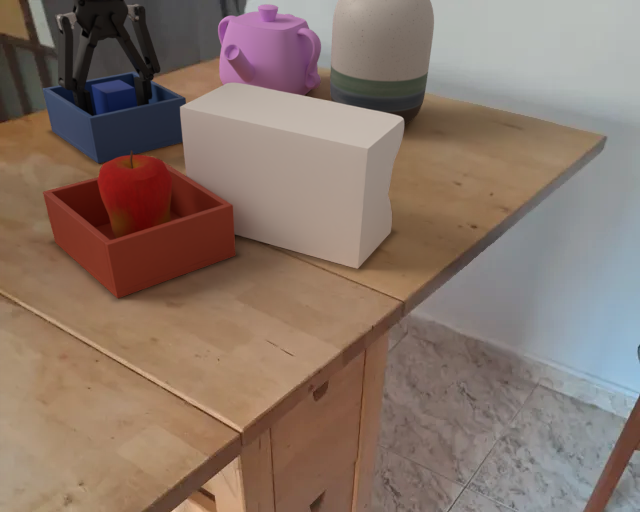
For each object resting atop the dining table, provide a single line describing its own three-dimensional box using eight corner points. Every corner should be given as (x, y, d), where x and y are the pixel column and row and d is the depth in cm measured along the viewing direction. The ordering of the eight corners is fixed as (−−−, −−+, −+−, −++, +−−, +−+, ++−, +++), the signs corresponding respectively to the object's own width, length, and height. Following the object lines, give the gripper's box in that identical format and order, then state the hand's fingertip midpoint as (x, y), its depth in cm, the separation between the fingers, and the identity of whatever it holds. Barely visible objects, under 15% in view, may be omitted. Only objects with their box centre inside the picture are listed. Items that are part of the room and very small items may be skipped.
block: (99, 129, 115) (91, 84, 110) (126, 123, 117) (119, 79, 112) (113, 138, 112) (106, 93, 107) (140, 132, 115) (134, 87, 110)
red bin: (55, 242, 88) (42, 191, 84) (167, 208, 96) (161, 160, 92) (117, 298, 79) (107, 245, 75) (235, 255, 87) (233, 204, 83)
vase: (310, 113, 126) (314, -43, 110) (383, 99, 134) (397, -50, 117) (364, 143, 116) (378, -23, 100) (440, 127, 124) (464, -31, 107)
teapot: (306, 73, 144) (308, -7, 134) (329, 106, 129) (332, 20, 119) (215, 75, 141) (210, -6, 131) (227, 110, 126) (222, 22, 116)
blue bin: (52, 131, 116) (42, 88, 111) (139, 112, 124) (134, 71, 119) (98, 163, 107) (89, 118, 102) (189, 140, 115) (185, 97, 110)
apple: (171, 223, 91) (160, 133, 83) (184, 254, 86) (174, 159, 78) (105, 232, 89) (87, 140, 81) (114, 264, 83) (96, 168, 75)
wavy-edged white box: (409, 212, 98) (423, 102, 88) (357, 269, 86) (367, 149, 76) (257, 174, 106) (254, 69, 95) (190, 221, 94) (179, 107, 83)
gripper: (147, -45, 106) (164, 107, 121) (7, -32, 95) (46, 133, 111) (173, -37, 102) (187, 119, 117) (30, -22, 91) (67, 147, 107)
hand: (119, 126), depth 114 cm, fingers open, 9 cm apart
